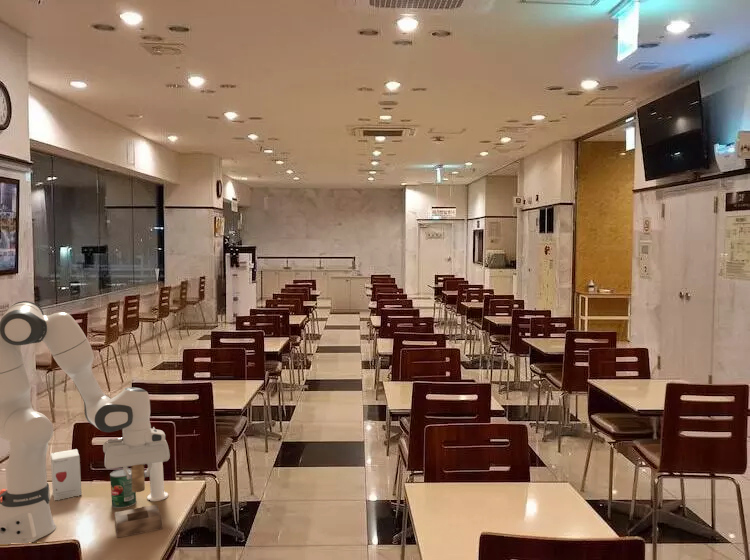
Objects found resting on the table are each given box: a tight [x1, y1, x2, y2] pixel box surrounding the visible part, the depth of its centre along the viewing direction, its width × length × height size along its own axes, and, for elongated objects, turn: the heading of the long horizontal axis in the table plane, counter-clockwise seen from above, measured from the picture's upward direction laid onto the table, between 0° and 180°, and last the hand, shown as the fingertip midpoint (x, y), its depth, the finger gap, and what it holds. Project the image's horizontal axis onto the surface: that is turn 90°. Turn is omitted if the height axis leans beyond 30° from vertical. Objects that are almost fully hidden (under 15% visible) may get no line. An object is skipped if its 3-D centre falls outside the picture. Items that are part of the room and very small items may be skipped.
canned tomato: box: [109, 467, 137, 509], centre depth 226 cm, size 8×8×11 cm
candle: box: [146, 426, 169, 502], centre depth 230 cm, size 7×7×25 cm
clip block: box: [114, 504, 163, 538], centre depth 209 cm, size 13×13×3 cm
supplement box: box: [50, 448, 83, 501], centre depth 236 cm, size 9×9×15 cm
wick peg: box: [130, 464, 146, 493], centre depth 219 cm, size 4×4×9 cm
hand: (137, 477), depth 219 cm, fingers closed on wick peg, 4 cm apart
